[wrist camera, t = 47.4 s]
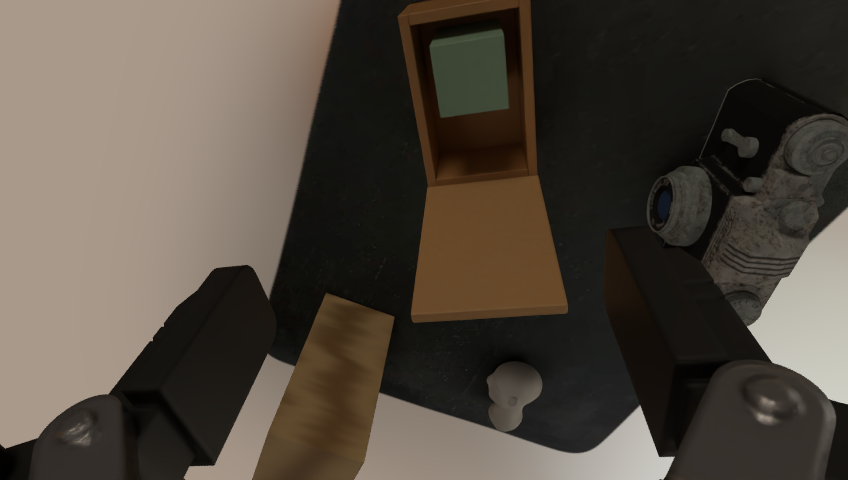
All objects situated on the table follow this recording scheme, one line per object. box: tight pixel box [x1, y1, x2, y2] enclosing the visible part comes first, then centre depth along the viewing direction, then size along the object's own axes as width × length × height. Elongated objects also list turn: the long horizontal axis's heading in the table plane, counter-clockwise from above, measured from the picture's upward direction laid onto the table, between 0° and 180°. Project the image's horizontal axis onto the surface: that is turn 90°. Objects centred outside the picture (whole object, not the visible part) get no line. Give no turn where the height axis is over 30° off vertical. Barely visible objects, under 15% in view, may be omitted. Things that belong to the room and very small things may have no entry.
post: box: [252, 293, 395, 480], centre depth 40 cm, size 7×7×15 cm
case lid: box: [411, 175, 568, 323], centre depth 26 cm, size 11×7×1 cm
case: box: [398, 0, 537, 187], centre depth 30 cm, size 11×7×5 cm
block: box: [429, 18, 509, 118], centre depth 28 cm, size 4×4×6 cm
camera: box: [647, 78, 848, 326], centre depth 30 cm, size 15×7×10 cm, turn 177°
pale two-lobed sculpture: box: [487, 361, 542, 432], centre depth 47 cm, size 4×8×5 cm
